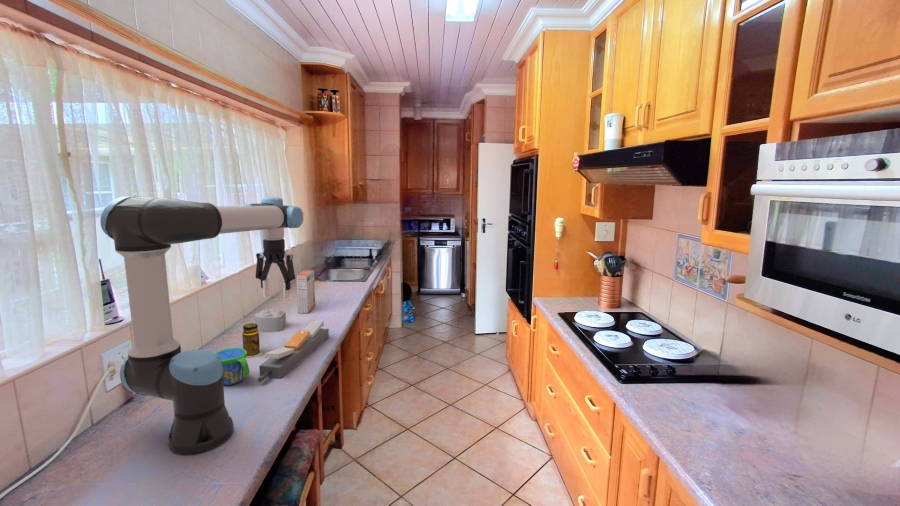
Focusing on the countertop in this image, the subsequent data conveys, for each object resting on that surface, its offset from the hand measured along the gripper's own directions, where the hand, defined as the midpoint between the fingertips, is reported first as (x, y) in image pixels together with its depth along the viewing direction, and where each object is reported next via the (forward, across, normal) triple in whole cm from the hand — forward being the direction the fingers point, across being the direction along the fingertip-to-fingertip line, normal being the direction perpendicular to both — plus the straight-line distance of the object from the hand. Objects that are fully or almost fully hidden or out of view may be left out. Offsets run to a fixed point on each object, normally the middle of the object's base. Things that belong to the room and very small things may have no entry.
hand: (276, 297), depth 156 cm
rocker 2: (+19, -6, -5) cm, 21 cm away
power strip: (+25, -5, -2) cm, 26 cm away
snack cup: (+25, +6, +20) cm, 33 cm away
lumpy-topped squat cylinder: (+25, +22, -30) cm, 45 cm away
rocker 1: (+19, -6, +8) cm, 21 cm away
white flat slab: (+19, -6, -18) cm, 27 cm away
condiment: (+25, +14, -2) cm, 29 cm away
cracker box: (+25, +19, -60) cm, 68 cm away
